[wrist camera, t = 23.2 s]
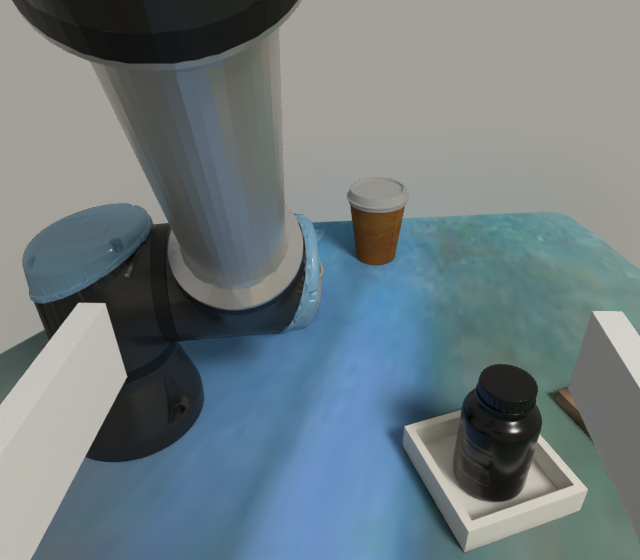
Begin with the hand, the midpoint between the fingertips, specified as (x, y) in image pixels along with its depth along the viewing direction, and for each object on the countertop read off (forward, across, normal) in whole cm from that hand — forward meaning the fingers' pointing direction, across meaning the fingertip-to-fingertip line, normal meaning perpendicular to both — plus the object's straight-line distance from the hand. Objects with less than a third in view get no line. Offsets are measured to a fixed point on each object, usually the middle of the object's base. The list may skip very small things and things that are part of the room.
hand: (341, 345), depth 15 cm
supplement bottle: (+22, +13, -35) cm, 43 cm away
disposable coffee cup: (+65, +4, -35) cm, 74 cm away
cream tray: (+23, +13, -35) cm, 44 cm away
